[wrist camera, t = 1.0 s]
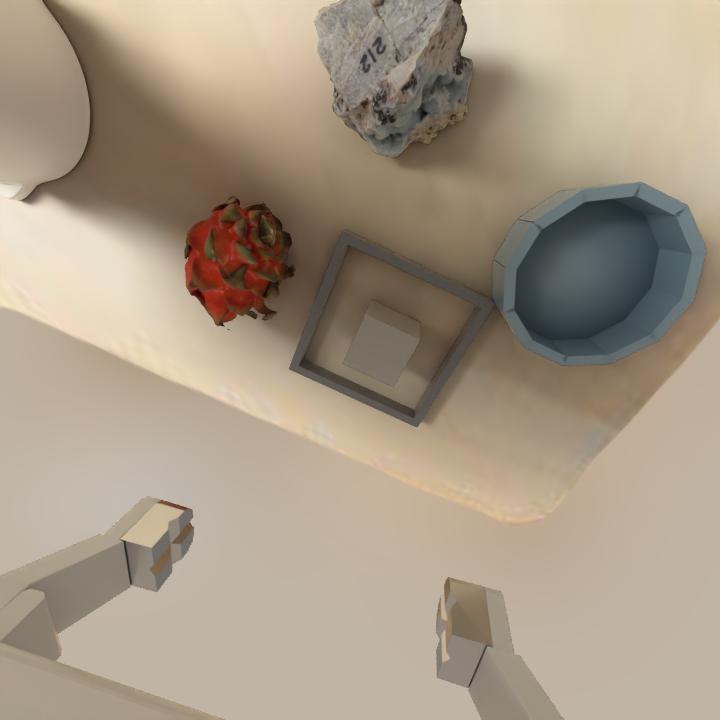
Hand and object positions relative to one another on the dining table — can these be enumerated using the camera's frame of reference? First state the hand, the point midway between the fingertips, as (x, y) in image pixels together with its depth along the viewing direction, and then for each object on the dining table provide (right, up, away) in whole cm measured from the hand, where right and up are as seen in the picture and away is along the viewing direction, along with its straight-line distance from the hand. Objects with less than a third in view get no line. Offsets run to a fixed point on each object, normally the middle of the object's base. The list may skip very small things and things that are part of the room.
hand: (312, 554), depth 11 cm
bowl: (+20, +13, +19) cm, 30 cm away
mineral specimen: (+4, +27, +16) cm, 32 cm away
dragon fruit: (-8, +15, +23) cm, 29 cm away
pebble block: (+4, +9, +24) cm, 26 cm away
